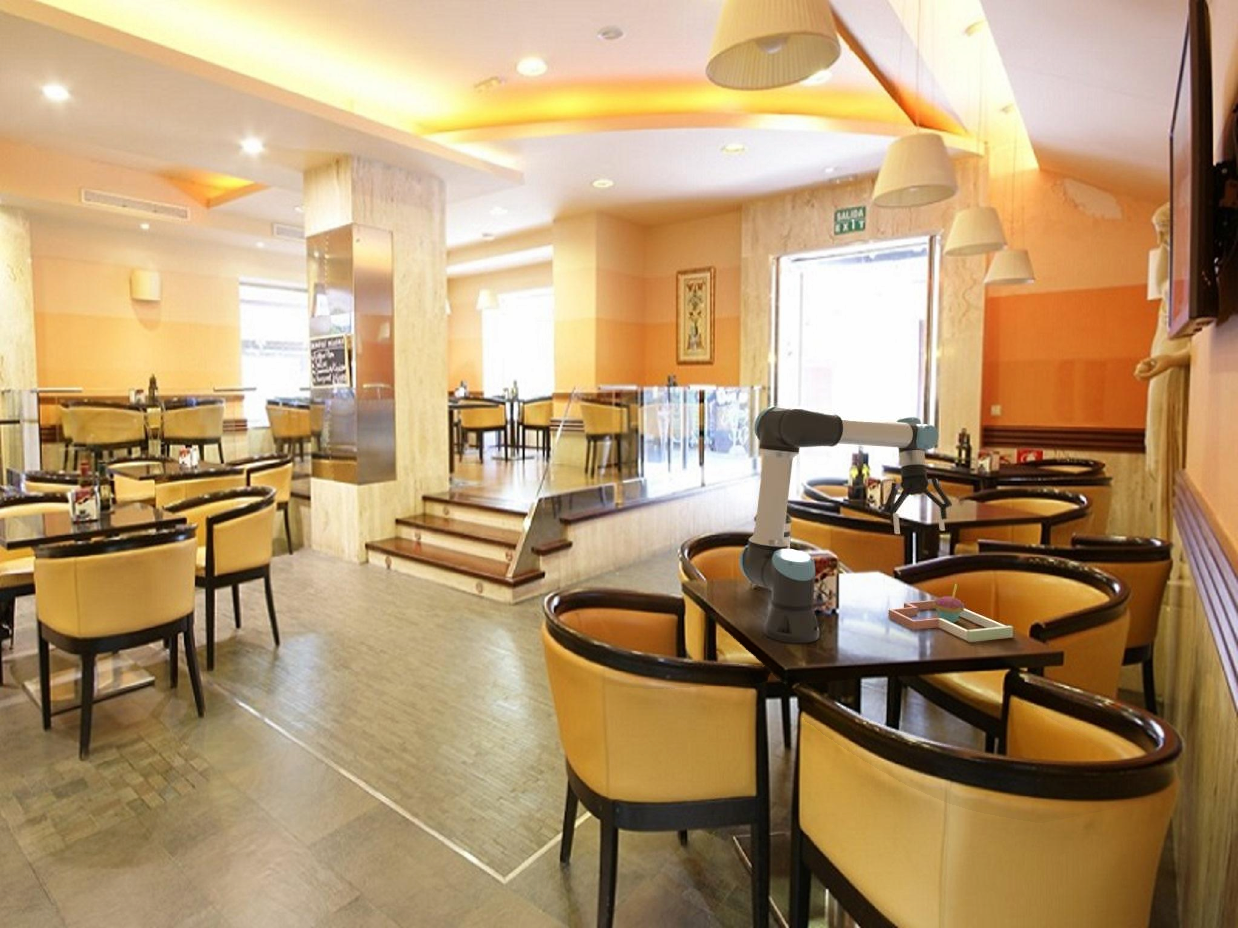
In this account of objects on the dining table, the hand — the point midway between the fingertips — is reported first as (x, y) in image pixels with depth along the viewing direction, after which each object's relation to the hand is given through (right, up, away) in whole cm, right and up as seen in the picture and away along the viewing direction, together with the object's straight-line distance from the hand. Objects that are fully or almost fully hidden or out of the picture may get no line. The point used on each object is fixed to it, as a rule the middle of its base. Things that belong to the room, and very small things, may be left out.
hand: (919, 532), depth 216 cm
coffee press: (-41, -22, +25) cm, 53 cm away
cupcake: (+5, -26, -7) cm, 28 cm away
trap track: (+2, -26, -11) cm, 29 cm away
